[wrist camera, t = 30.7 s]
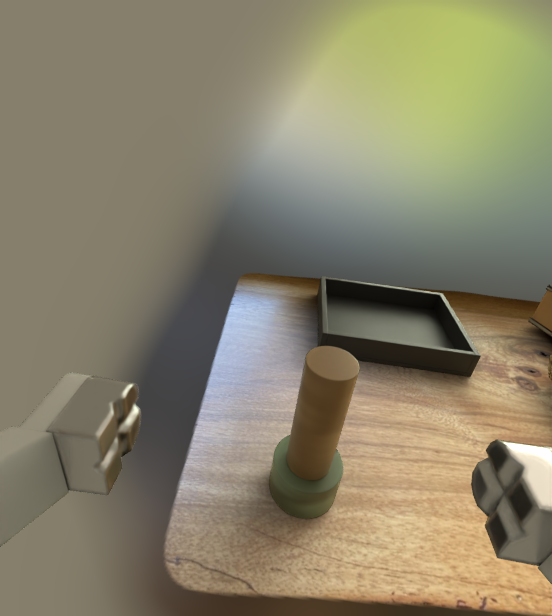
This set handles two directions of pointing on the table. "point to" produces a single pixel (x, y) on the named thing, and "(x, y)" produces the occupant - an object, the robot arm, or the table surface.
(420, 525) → the table surface
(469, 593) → the table surface
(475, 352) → the pan
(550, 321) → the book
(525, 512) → the robot arm
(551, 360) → the sponge
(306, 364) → the tan cylinder
